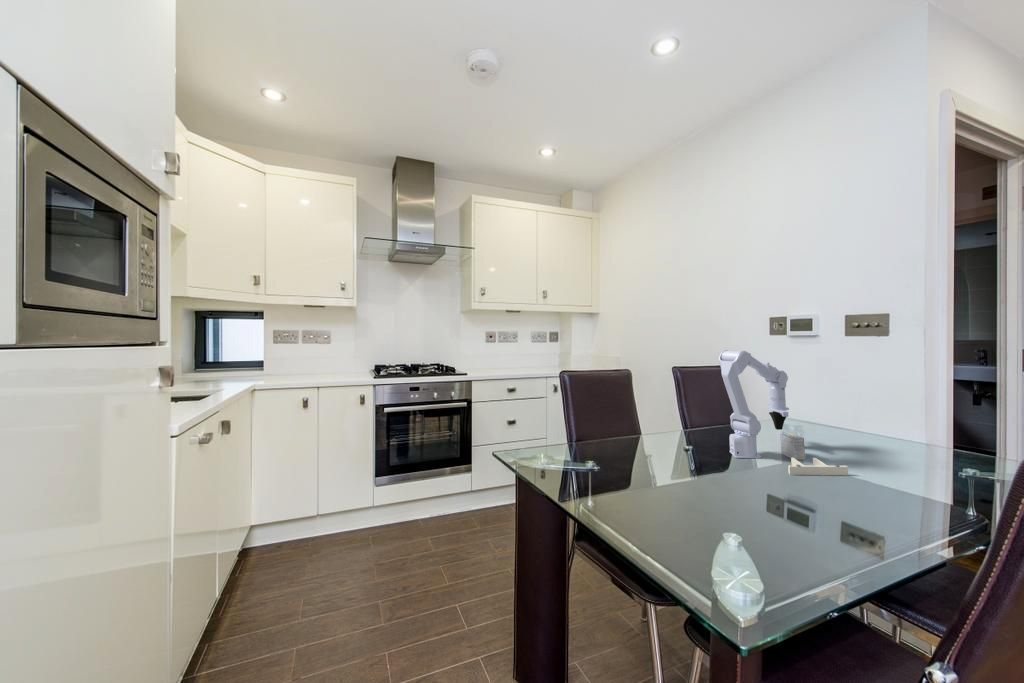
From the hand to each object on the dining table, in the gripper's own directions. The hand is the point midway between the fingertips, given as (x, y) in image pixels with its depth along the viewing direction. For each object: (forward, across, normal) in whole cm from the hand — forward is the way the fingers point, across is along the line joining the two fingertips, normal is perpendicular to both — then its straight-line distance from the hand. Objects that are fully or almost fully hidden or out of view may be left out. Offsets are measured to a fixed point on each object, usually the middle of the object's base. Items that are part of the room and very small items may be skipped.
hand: (778, 429), depth 169 cm
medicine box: (+8, -12, 0) cm, 15 cm away
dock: (+8, -25, 0) cm, 26 cm away
